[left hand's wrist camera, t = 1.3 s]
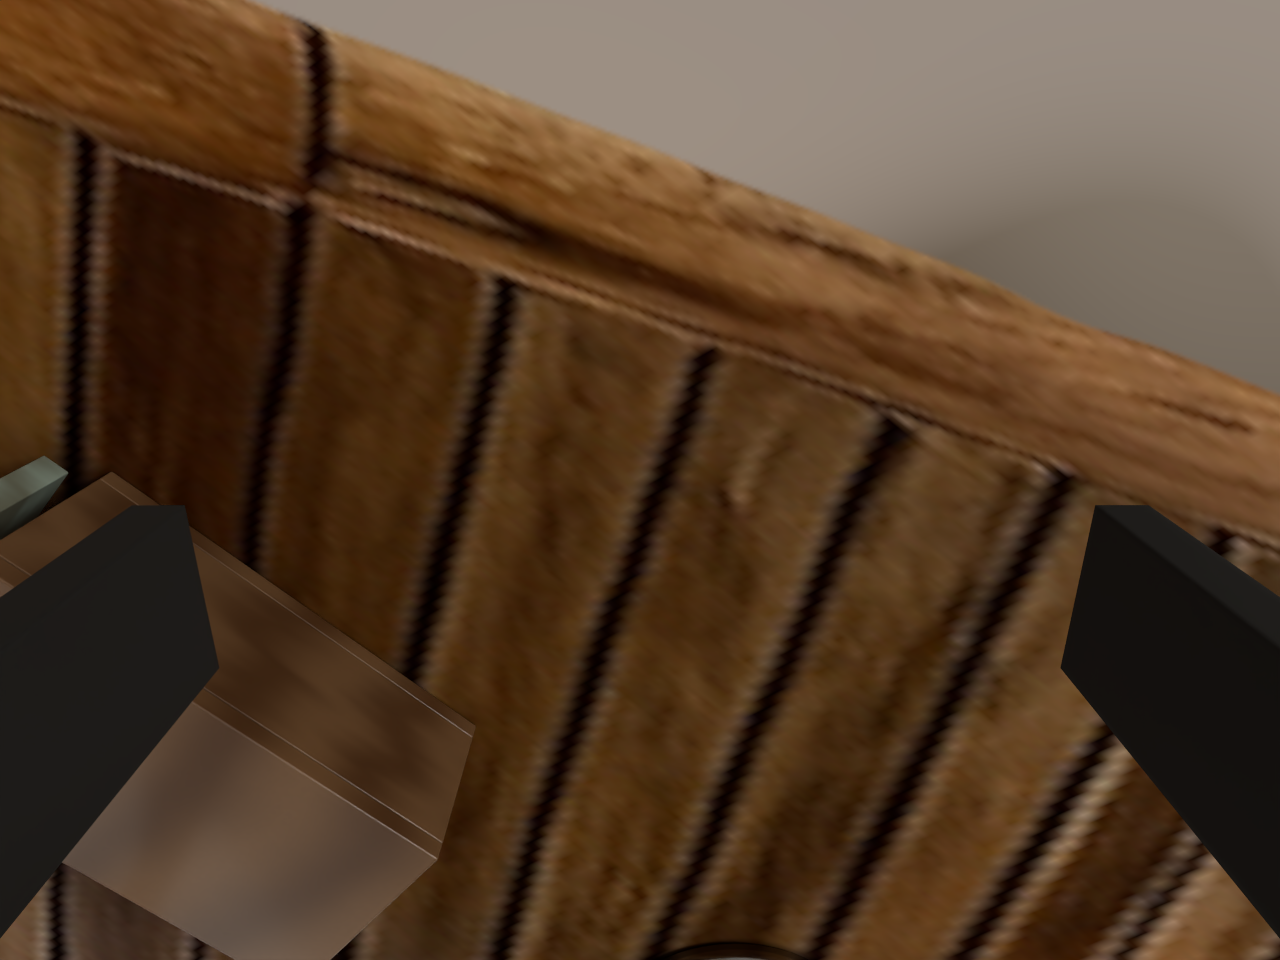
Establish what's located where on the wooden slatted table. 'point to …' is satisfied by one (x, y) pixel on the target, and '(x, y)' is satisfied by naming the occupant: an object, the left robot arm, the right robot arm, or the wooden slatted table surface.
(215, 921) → the cabinet
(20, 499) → the drawer
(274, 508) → the wooden slatted table surface
